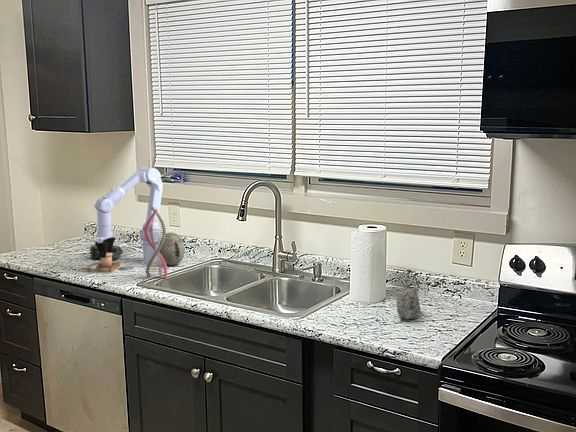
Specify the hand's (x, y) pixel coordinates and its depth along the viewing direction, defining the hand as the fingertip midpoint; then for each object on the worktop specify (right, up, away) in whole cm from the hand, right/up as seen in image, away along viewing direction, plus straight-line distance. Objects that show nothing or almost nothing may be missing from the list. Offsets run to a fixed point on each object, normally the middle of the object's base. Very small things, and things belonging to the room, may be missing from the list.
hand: (106, 255), depth 280 cm
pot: (0, -6, +1) cm, 6 cm away
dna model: (+25, -9, -13) cm, 30 cm away
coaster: (+9, -6, +2) cm, 11 cm away
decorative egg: (+28, -5, +10) cm, 30 cm away
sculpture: (-6, -3, +20) cm, 21 cm away
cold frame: (-1, -6, +1) cm, 6 cm away
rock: (+123, -17, -62) cm, 138 cm away
